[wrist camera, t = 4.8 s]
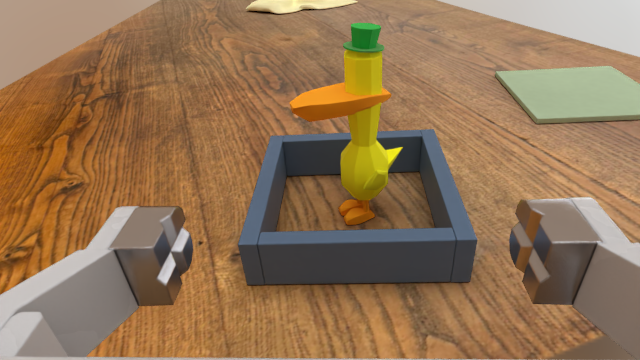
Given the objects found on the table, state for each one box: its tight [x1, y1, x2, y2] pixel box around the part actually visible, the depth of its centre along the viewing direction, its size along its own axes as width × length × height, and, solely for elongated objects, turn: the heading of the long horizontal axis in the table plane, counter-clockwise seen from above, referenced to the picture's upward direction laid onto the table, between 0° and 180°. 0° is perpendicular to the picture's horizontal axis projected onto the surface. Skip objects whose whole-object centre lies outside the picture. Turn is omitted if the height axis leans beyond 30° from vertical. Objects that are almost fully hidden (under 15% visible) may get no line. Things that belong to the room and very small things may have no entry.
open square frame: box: [238, 129, 477, 285], centre depth 27 cm, size 12×12×3 cm
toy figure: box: [290, 23, 403, 225], centre depth 25 cm, size 7×4×12 cm, turn 108°
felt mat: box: [495, 66, 640, 124], centre depth 41 cm, size 12×12×1 cm
